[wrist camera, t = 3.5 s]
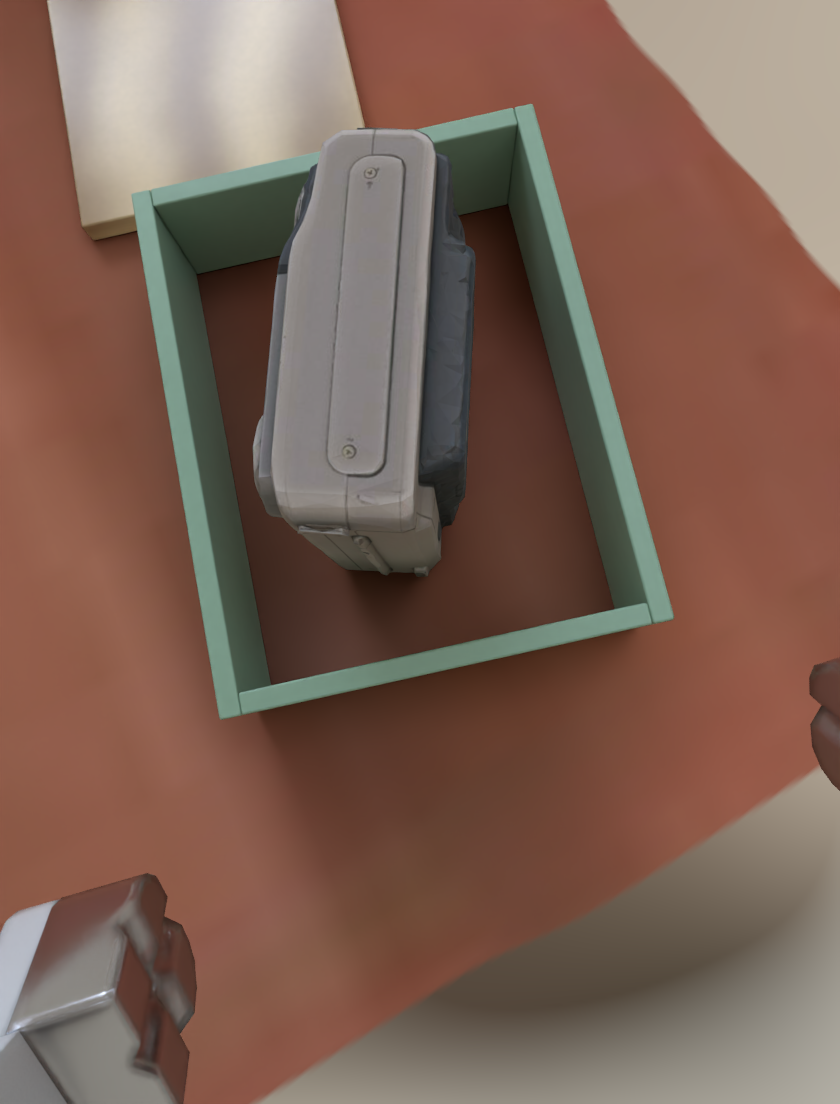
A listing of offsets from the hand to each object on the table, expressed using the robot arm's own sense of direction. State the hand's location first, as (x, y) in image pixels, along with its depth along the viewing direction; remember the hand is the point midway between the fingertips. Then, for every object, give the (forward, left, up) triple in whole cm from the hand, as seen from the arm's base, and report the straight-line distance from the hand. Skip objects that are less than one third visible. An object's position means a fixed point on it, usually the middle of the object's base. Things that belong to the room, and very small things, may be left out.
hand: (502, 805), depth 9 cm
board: (-5, +32, -18) cm, 37 cm away
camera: (0, +11, -18) cm, 21 cm away
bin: (0, +11, -18) cm, 21 cm away
